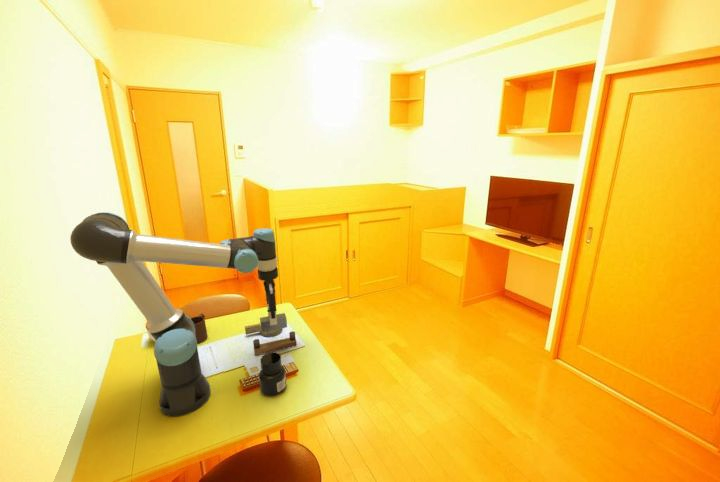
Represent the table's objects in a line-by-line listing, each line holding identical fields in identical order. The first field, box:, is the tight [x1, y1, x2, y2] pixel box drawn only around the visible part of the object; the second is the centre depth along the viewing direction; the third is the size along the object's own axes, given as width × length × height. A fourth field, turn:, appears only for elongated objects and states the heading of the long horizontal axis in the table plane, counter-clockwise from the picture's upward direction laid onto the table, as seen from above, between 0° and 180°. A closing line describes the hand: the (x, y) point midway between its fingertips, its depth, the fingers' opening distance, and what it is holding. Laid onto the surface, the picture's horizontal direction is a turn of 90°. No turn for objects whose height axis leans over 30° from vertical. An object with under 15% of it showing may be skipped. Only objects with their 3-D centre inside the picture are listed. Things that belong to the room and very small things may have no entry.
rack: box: [252, 330, 297, 356], centre depth 135 cm, size 4×17×6 cm, turn 112°
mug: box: [189, 313, 208, 344], centre depth 144 cm, size 12×8×9 cm, turn 3°
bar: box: [259, 312, 288, 332], centre depth 133 cm, size 10×4×4 cm, turn 112°
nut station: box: [259, 328, 283, 338], centre depth 148 cm, size 10×10×7 cm
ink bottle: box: [258, 351, 287, 397], centre depth 112 cm, size 10×9×12 cm
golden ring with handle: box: [244, 323, 280, 335], centre depth 147 cm, size 9×16×3 cm, turn 112°
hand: (272, 321), depth 133 cm, fingers closed on bar, 4 cm apart
